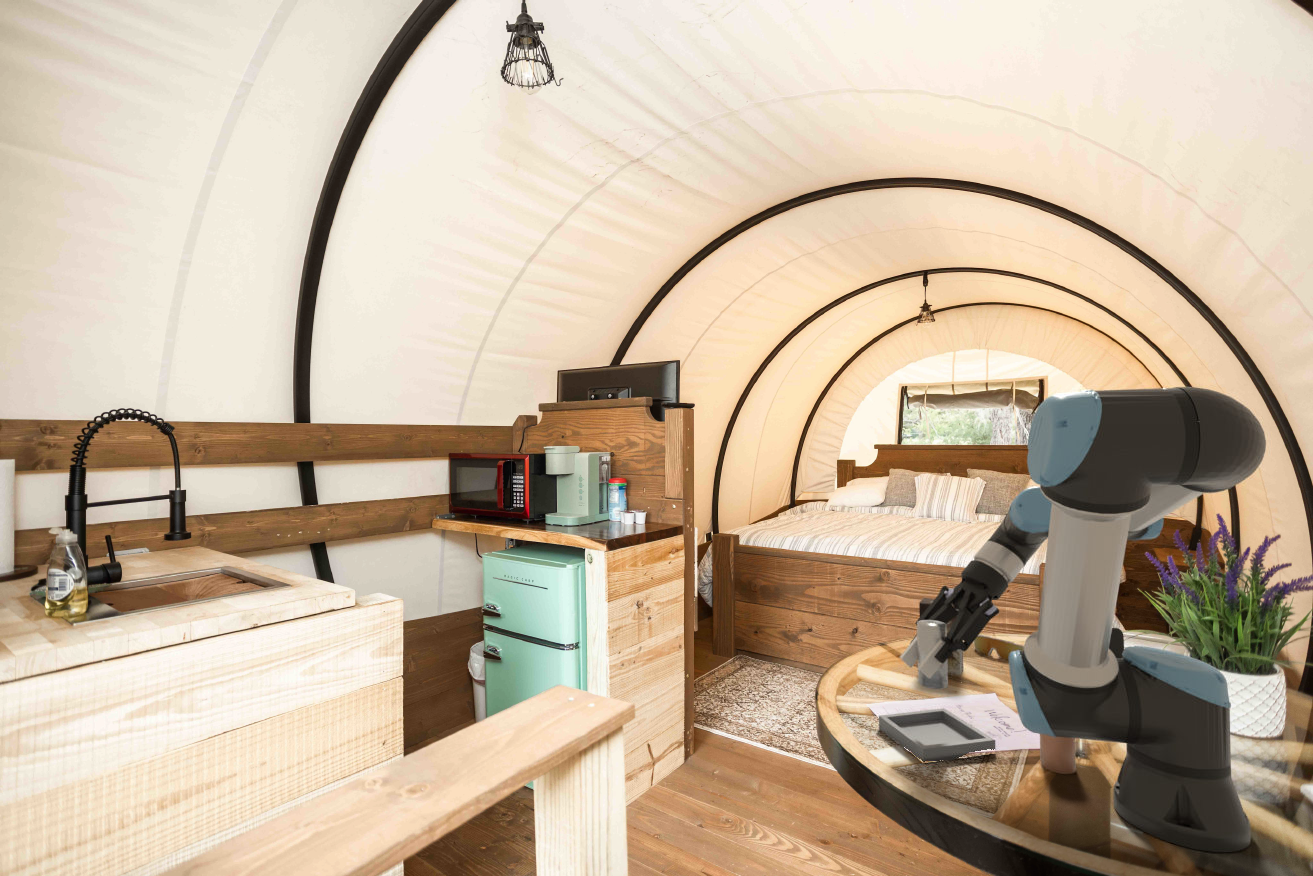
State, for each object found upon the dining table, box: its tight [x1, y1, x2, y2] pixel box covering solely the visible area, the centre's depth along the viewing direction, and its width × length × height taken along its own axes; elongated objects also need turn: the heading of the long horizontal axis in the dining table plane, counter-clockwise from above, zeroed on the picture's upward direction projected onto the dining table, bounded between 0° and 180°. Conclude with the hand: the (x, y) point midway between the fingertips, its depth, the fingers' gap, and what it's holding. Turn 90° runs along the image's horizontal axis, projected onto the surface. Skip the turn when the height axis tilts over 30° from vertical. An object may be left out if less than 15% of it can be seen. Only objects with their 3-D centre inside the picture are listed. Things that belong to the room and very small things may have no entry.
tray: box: [878, 707, 996, 762], centre depth 117 cm, size 14×14×2 cm
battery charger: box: [1109, 625, 1125, 658], centre depth 149 cm, size 7×4×11 cm, turn 82°
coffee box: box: [918, 597, 964, 676], centre depth 155 cm, size 9×6×16 cm
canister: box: [1039, 734, 1077, 775], centre depth 108 cm, size 5×5×9 cm
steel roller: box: [916, 620, 949, 690], centre depth 118 cm, size 5×5×11 cm
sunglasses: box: [973, 634, 1024, 660], centre depth 167 cm, size 14×15×5 cm
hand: (914, 667), depth 117 cm, fingers closed on steel roller, 5 cm apart
